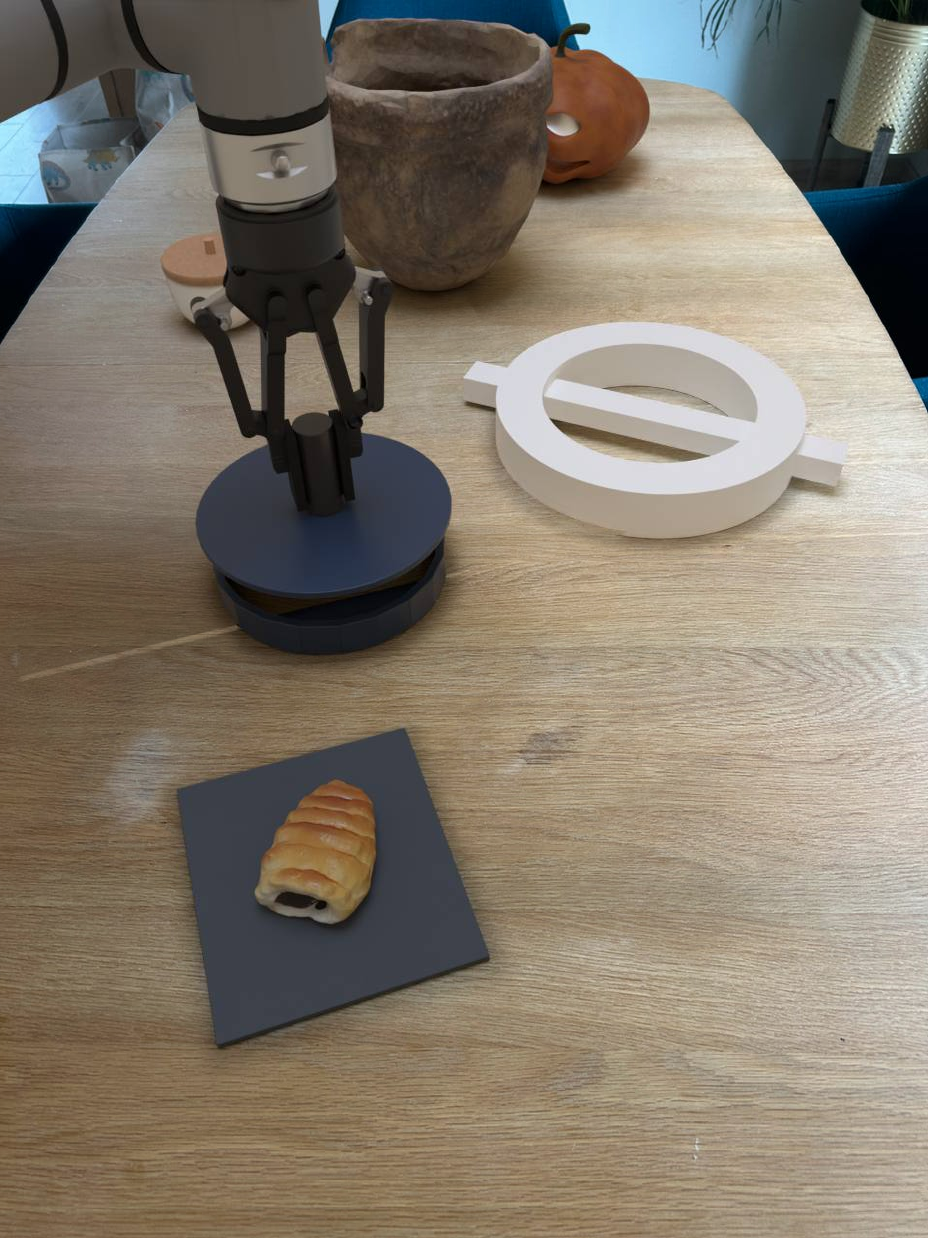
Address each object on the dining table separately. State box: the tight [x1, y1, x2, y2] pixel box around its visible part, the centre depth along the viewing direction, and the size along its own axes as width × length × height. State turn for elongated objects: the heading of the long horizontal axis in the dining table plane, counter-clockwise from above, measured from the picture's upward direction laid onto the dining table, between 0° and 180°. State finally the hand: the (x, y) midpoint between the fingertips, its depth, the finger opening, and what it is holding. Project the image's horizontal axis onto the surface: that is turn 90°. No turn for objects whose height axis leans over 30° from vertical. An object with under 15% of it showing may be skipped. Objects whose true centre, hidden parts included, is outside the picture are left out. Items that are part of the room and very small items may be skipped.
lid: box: [195, 411, 453, 600], centre depth 75 cm, size 20×20×9 cm
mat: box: [176, 727, 491, 1049], centre depth 63 cm, size 18×16×1 cm
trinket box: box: [160, 232, 251, 330], centre depth 109 cm, size 11×11×9 cm
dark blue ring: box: [212, 534, 447, 656], centre depth 82 cm, size 19×19×3 cm
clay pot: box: [322, 17, 554, 292], centre depth 109 cm, size 26×26×25 cm
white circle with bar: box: [462, 321, 850, 540], centre depth 93 cm, size 28×28×5 cm
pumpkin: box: [542, 22, 651, 185], centre depth 135 cm, size 25×25×19 cm
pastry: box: [255, 780, 376, 924], centre depth 62 cm, size 9×7×4 cm
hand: (322, 494), depth 77 cm, fingers closed on lid, 3 cm apart
